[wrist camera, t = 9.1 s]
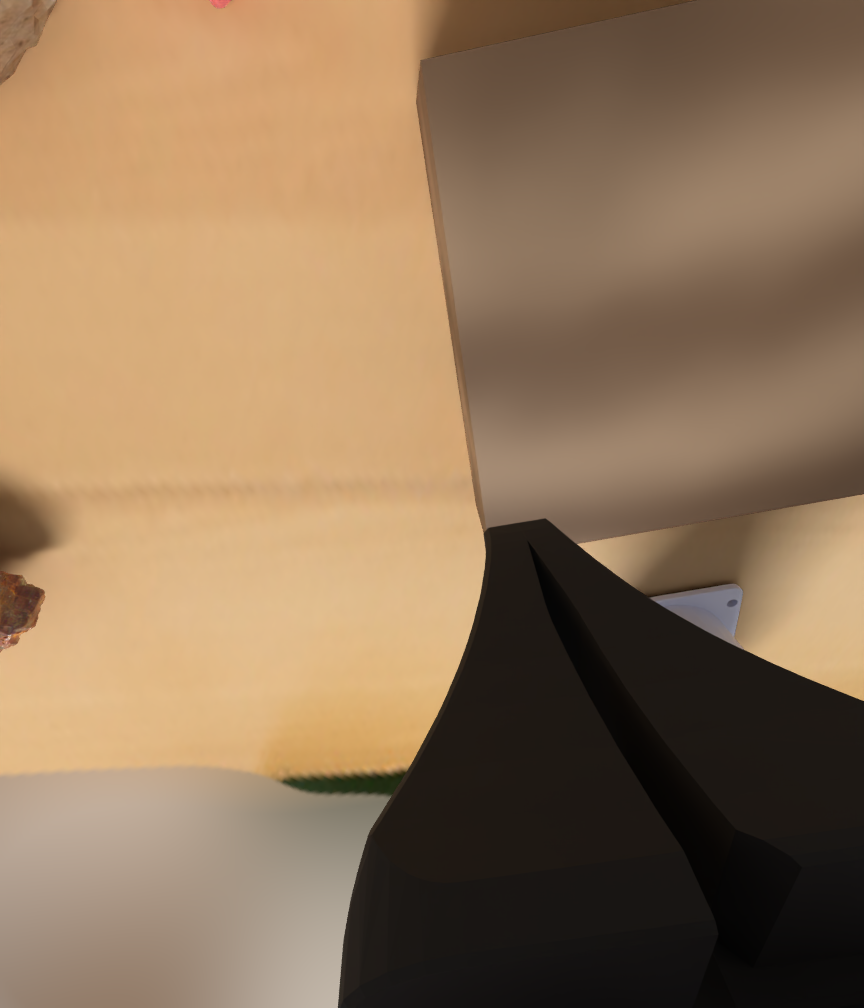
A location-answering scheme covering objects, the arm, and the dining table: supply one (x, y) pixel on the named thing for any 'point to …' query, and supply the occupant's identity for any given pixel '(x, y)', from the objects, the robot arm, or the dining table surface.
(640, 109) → the walnut board
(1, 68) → the brown hollow boot figurine
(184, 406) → the dining table surface
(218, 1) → the ink cartridge box
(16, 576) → the mineral specimen
